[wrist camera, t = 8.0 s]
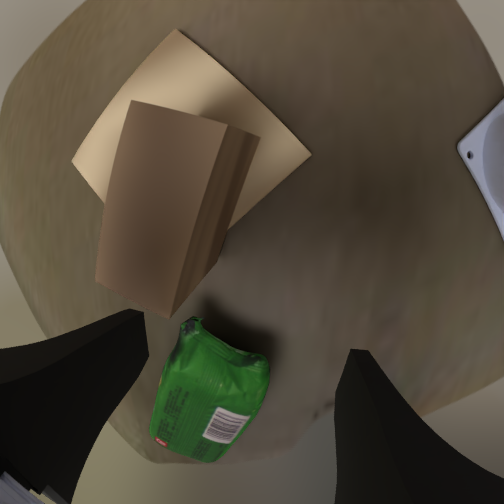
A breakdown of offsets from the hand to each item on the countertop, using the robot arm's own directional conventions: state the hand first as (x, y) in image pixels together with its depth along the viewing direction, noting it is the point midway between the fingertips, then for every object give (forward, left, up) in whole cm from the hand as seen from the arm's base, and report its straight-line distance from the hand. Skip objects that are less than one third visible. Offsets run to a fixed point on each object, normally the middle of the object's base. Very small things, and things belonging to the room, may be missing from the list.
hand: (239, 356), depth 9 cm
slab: (+6, 0, -9) cm, 11 cm away
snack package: (-5, +11, -10) cm, 16 cm away
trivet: (+9, 0, -9) cm, 13 cm away
